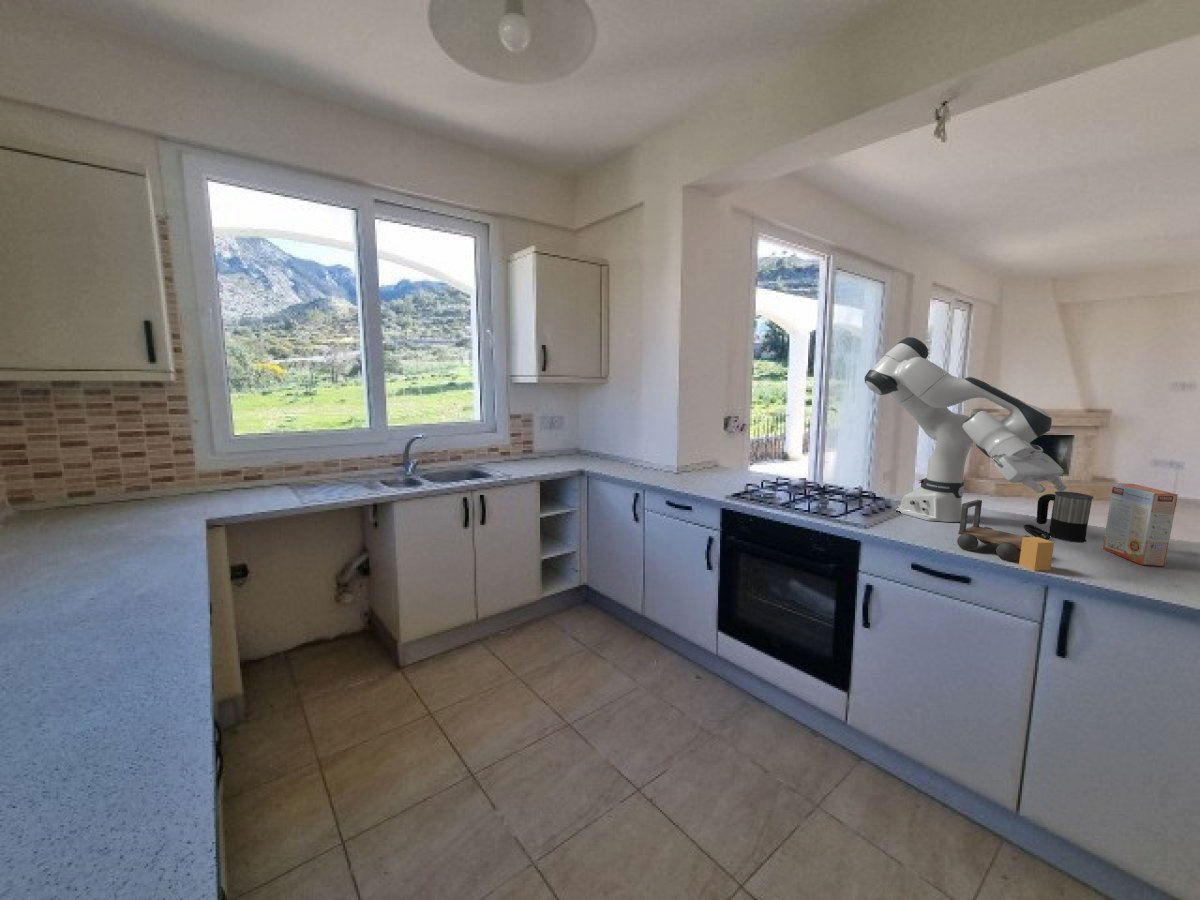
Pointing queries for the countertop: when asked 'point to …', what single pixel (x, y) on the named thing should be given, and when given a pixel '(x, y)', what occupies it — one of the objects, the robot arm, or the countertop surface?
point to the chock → (1036, 553)
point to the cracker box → (1140, 523)
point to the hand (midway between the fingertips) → (1053, 490)
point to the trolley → (987, 535)
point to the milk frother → (1063, 516)
